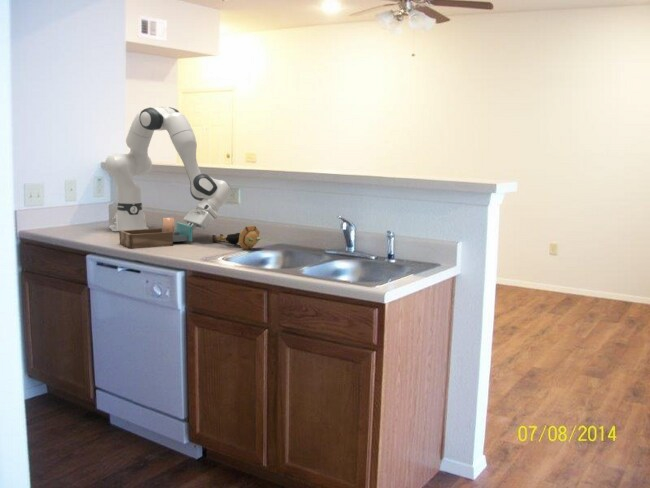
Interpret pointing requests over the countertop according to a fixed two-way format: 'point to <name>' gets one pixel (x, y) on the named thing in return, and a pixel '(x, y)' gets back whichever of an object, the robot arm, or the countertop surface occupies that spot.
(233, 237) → the toy
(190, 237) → the teal tilted board
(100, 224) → the countertop surface
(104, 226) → the countertop surface
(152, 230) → the brown wooden box
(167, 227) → the cylinder
